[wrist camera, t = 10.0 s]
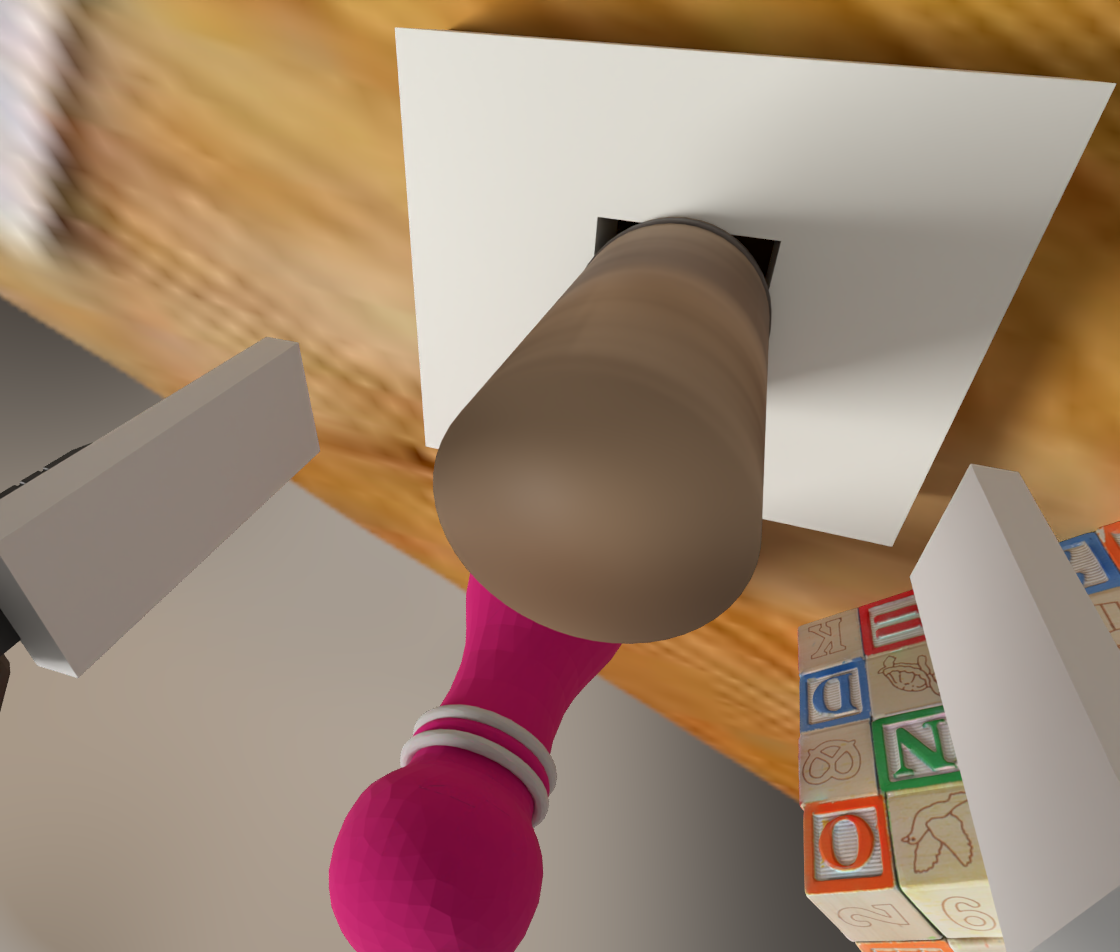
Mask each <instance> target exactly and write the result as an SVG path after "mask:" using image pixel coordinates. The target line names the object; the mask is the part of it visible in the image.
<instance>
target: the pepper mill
mask: <svg viewBox="0 0 1120 952" xmlns="http://www.w3.org/2000/svg"><path fill="white" fill-rule="evenodd" d="M466 628H467V629H466V645H465V649H464V654H463V658H462V662H461V665H460V668H459V670H458V672H457V675H456V677H455V680H454V682H453V684H452V687H451V689H450V691H449V692H448V694H447V695H446V697H445V699H444V700H443V702H442V704H441V705H440V706H439V707H436V708H433V709H431V710H428V711H426V712H425V713H424V714H423V715H422V716H421V717H420V718H419V719H418V721H417V722H416V724H415V727H414V731H413V737H412V738H410V739H409V740H408V741H407V742H406V743H405V745H404V747H403V749H402V752H401V756H400V761H401V768H400V769H398V770H395V771H393V772H391V773H389V774H387V775H385V776H384V777H382V778H380V779H378V780H377V781H375V782H374V783H372V784H371V785H370V786H369V787H368V788H367V789H366V790H365V791H364V792H363V793H362V794H361V795H360V797H359V798H358V800H357V801H356V802H355V804H354V805H353V807H352V808H351V810H350V811H349V813H348V815H347V816H346V818H345V820H344V823H343V825H342V828H341V830H340V832H339V835H338V837H337V840H336V842H335V845H334V848H333V853H332V858H331V863H330V868H329V891H330V899H331V906H332V909H333V912H334V914H335V917H336V919H337V922H338V924H339V926H340V929H341V931H342V933H343V934H344V936H345V937H346V939H347V940H348V942H349V943H350V945H351V946H352V947H353V948H354V949H355V950H356V951H357V952H514V951H515V949H516V948H517V946H518V945H519V943H520V942H521V941H522V939H523V938H524V936H525V934H526V931H527V929H528V927H529V925H530V922H531V920H532V918H533V915H534V913H535V910H536V908H537V905H538V903H539V897H540V891H541V885H542V878H543V864H542V855H541V850H540V846H539V843H538V839H537V837H536V834H535V832H534V829H533V828H534V827H535V826H537V825H538V824H540V823H541V822H542V820H543V819H544V818H545V816H546V814H547V811H548V805H549V800H548V797H549V795H550V794H551V793H552V791H553V790H554V788H555V785H556V780H557V773H556V766H555V764H554V762H553V759H552V757H551V755H550V752H551V748H552V743H553V740H554V737H555V735H556V732H557V730H558V727H559V725H560V723H561V720H562V718H563V715H564V713H565V712H566V710H567V709H568V707H569V706H570V704H571V703H572V701H573V700H574V698H575V697H576V696H577V695H578V694H579V692H580V691H581V690H582V689H583V688H584V687H585V686H586V685H587V684H588V683H589V682H590V681H591V680H592V679H593V678H594V677H595V676H596V675H597V674H598V673H599V672H600V671H601V669H602V668H603V667H604V666H605V665H606V664H607V663H608V662H609V661H610V660H611V659H612V657H613V656H614V654H615V653H616V652H617V650H618V649H619V647H620V646H621V644H622V643H607V642H599V641H592V640H588V639H583V638H578V637H574V636H571V635H568V634H564V633H561V632H558V631H555V630H553V629H550V628H548V627H546V626H543V625H541V624H538V623H536V622H534V621H533V620H531V619H529V618H527V617H525V616H523V615H521V614H520V613H518V612H516V611H515V610H513V609H512V608H510V607H508V606H507V605H505V604H504V603H503V602H502V601H500V600H499V599H498V598H496V597H495V596H494V595H492V594H491V593H490V592H489V591H488V590H487V589H486V588H485V587H484V586H482V585H481V584H480V583H479V582H478V581H477V580H476V579H475V577H474V576H473V575H472V574H471V573H470V577H469V582H468V588H467V593H466Z"/></svg>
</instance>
